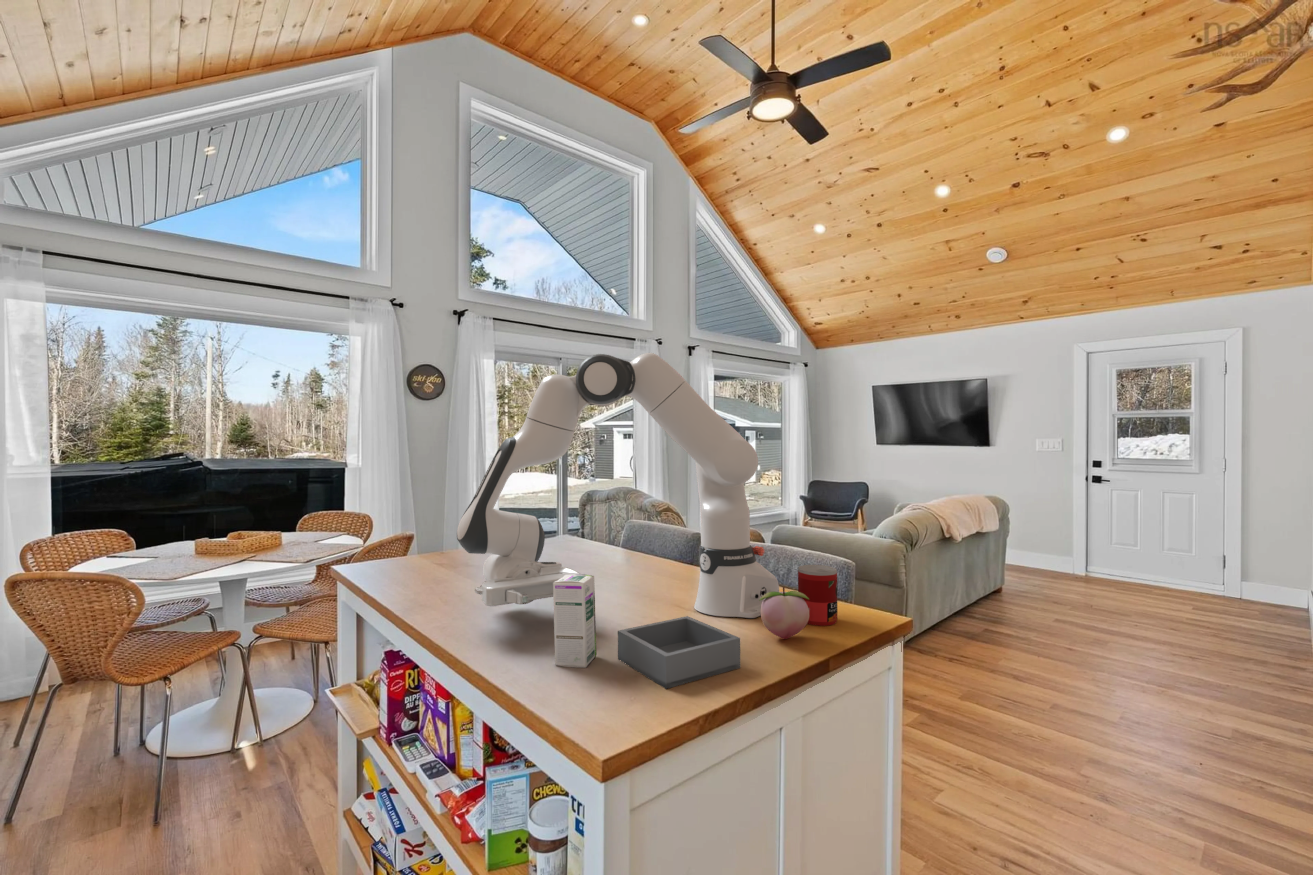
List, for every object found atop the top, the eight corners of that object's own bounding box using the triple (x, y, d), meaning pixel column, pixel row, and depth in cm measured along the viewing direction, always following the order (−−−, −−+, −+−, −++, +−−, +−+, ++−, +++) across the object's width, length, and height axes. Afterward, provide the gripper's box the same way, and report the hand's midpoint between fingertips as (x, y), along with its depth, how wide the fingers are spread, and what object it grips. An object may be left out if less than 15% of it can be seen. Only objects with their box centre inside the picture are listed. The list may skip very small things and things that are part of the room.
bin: (687, 642, 112) (687, 616, 112) (740, 667, 100) (740, 637, 100) (618, 659, 104) (617, 630, 104) (666, 689, 91) (665, 656, 91)
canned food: (836, 628, 120) (836, 573, 120) (796, 624, 123) (795, 570, 123) (838, 617, 127) (838, 565, 127) (800, 613, 130) (800, 563, 130)
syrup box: (586, 668, 100) (585, 582, 100) (553, 666, 101) (552, 580, 101) (596, 656, 106) (596, 574, 106) (565, 654, 107) (564, 573, 107)
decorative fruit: (799, 630, 119) (799, 580, 119) (815, 644, 111) (814, 590, 111) (753, 632, 118) (753, 582, 118) (766, 647, 109) (765, 592, 109)
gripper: (471, 572, 119) (493, 587, 108) (565, 561, 131) (594, 572, 119) (472, 604, 119) (493, 621, 108) (565, 589, 131) (594, 604, 119)
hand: (547, 595), depth 114 cm, fingers open, 8 cm apart
